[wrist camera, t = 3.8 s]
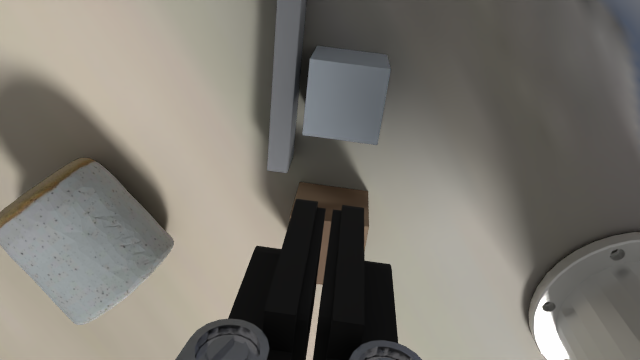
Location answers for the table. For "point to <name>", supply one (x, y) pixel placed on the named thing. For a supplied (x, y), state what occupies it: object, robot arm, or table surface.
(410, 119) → the table surface
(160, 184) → the table surface
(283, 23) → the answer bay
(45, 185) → the ceramic mug
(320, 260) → the walnut block
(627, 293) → the robot arm
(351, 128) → the slate block
